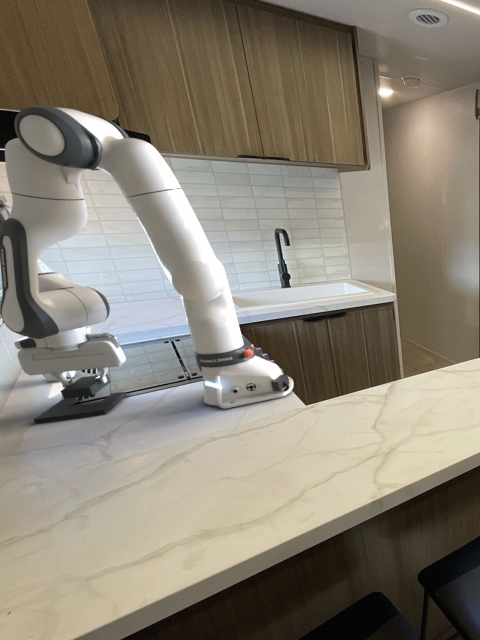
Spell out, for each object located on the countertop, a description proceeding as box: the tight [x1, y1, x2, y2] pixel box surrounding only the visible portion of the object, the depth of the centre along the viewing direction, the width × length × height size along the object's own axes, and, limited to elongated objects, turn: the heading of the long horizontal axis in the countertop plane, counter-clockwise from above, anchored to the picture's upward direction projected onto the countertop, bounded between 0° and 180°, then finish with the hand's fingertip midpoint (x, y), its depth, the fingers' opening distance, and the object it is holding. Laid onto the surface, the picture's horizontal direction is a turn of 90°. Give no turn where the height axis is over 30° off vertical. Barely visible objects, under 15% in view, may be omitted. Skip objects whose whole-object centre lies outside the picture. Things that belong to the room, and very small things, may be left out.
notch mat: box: [33, 391, 127, 424], centre depth 107 cm, size 14×12×1 cm
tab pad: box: [60, 373, 112, 399], centre depth 110 cm, size 6×10×2 cm, turn 21°
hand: (85, 384), depth 110 cm, fingers closed on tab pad, 6 cm apart
